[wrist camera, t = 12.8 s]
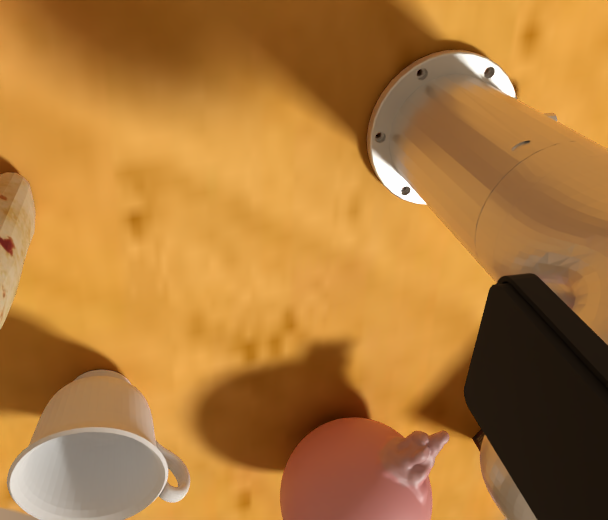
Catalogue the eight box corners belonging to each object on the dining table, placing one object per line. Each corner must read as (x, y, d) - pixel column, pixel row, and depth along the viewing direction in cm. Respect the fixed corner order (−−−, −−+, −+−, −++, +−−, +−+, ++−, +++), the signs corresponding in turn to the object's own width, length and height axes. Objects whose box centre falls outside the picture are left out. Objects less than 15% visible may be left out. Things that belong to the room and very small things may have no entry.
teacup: (155, 454, 58) (155, 544, 50) (9, 415, 52) (-19, 513, 43) (215, 377, 55) (225, 461, 46) (66, 323, 48) (47, 411, 39)
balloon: (454, 393, 64) (527, 514, 51) (335, 494, 69) (375, 626, 56) (366, 336, 56) (427, 462, 43) (240, 455, 61) (261, 598, 49)
